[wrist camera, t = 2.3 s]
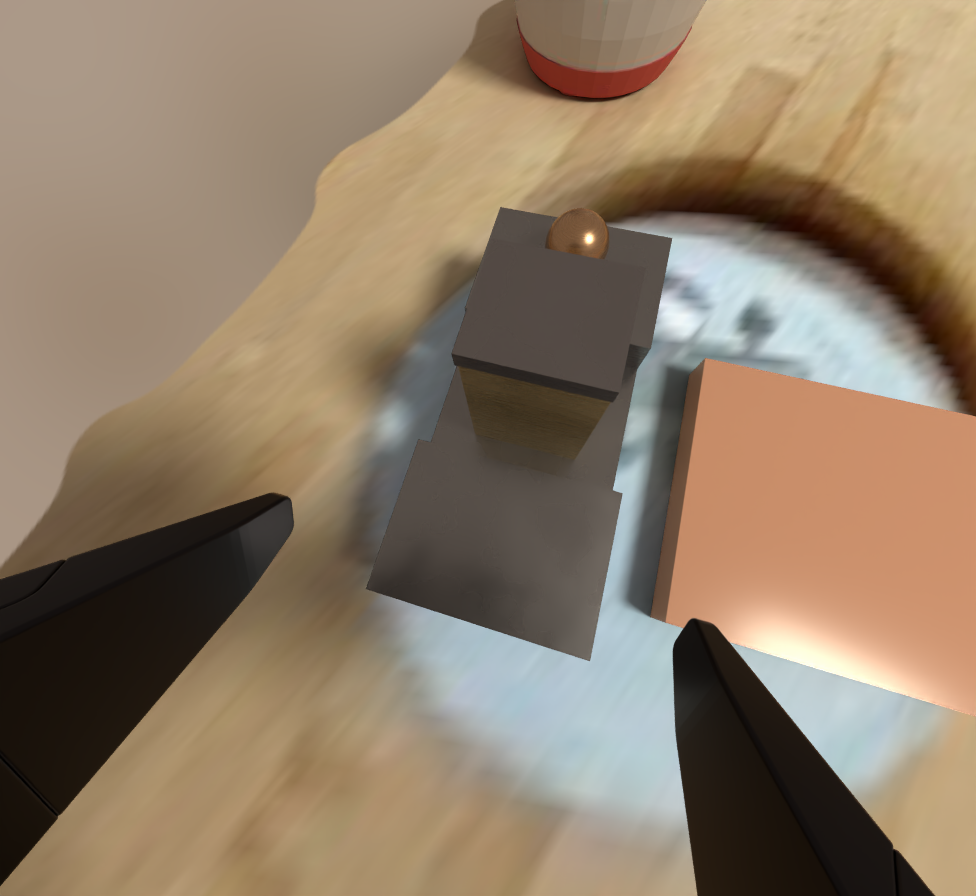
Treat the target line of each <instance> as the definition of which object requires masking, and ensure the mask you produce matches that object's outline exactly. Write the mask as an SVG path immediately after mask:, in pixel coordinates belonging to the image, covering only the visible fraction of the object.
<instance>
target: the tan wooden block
mask: <svg viewBox="0 0 976 896" xmlns="http://www.w3.org/2000/svg"><path fill="white" fill-rule="evenodd" d="M645 270H646V268H645V267H640V266H635V265H629V264H624V263H619V262H614V261H608V260H603V259H598V258H593V257H588V256H582V255H577V254H572V253H567V252H561V251H556V250H551V249H546V248H541V247H535V246H530V245H525V244H520V243H514V242H509V241H504V240H499V239H493V238H492V239H491V242H490V245H489V248H488V251H487V254H486V256H485V259H484V262H483V265H482V268H481V271H480V274H479V276H478V279H477V282H476V285H475V288H474V291H473V293H472V296H471V299H470V302H469V305H468V308H467V311H466V313H465V316H464V319H463V322H462V325H461V328H460V331H459V333H458V336H457V339H456V342H455V345H454V348H453V351H452V353H451V354H452V358H453V361H454V365H456V366H458V368H459V372H460V376H461V380H462V384H463V388H464V392H465V396H466V400H467V404H468V408H469V412H470V416H471V420H472V424H473V427H474V431H475V434H477V435H481V436H485V437H489V438H492V439H496V440H500V441H504V442H508V443H512V444H516V445H520V446H523V447H527V448H531V449H535V450H539V451H543V452H547V453H551V454H554V455H558V456H562V457H566V458H570V459H574V460H575V459H576V457H577V456H578V454H579V452H580V451H581V449H582V448H583V446H584V444H585V443H586V441H587V440H588V438H589V436H590V435H591V433H592V432H593V430H594V428H595V427H596V425H597V424H598V422H599V420H600V419H601V417H602V416H603V414H604V412H605V411H606V409H607V408H608V406H609V405H610V403H611V402H612V403H613V402H614V400H615V399H616V397H617V396H618V394H619V393H620V388H621V383H622V378H623V374H624V369H625V364H626V360H627V355H628V350H629V345H630V341H631V336H632V331H633V327H634V322H635V317H636V312H637V308H638V303H639V298H640V293H641V289H642V284H643V279H644V275H645Z"/></svg>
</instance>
